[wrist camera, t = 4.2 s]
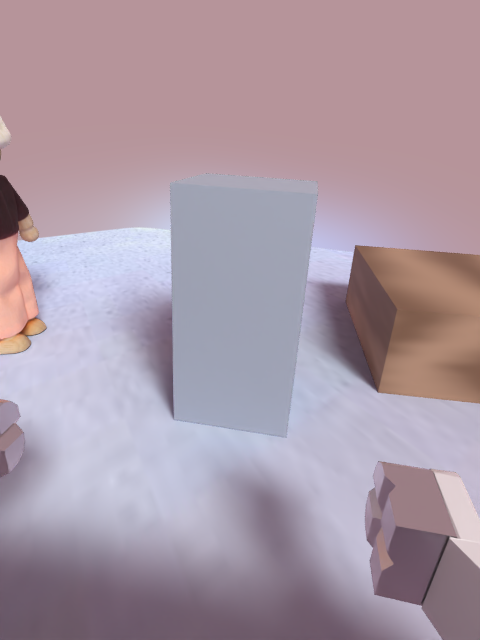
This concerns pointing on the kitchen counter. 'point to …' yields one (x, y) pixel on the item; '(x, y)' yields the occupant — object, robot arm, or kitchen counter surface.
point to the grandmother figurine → (15, 268)
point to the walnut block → (418, 321)
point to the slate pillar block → (238, 297)
